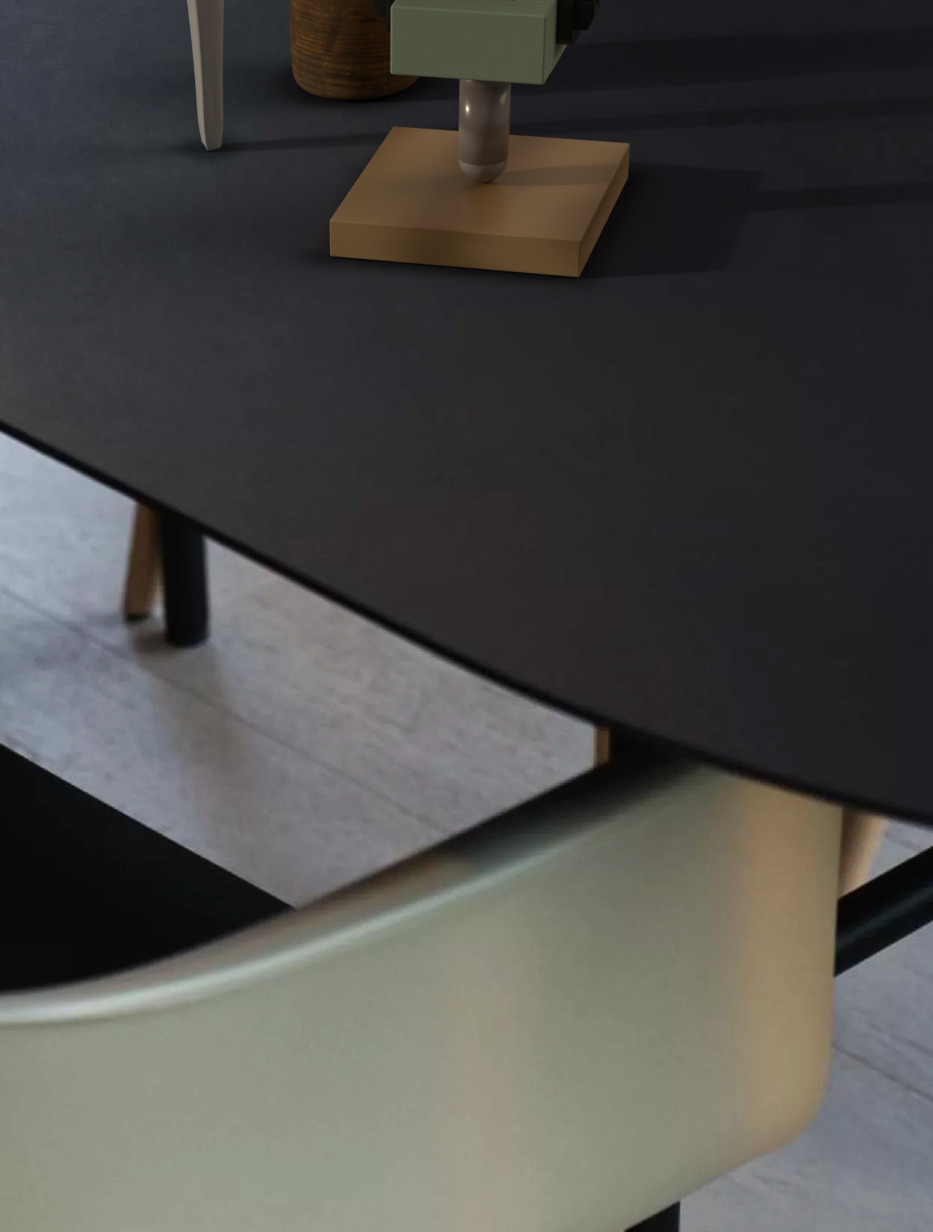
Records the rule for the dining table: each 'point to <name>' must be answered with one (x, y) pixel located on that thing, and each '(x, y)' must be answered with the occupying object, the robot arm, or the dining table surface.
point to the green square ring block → (475, 39)
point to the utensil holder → (342, 50)
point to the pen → (208, 67)
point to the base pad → (481, 194)
